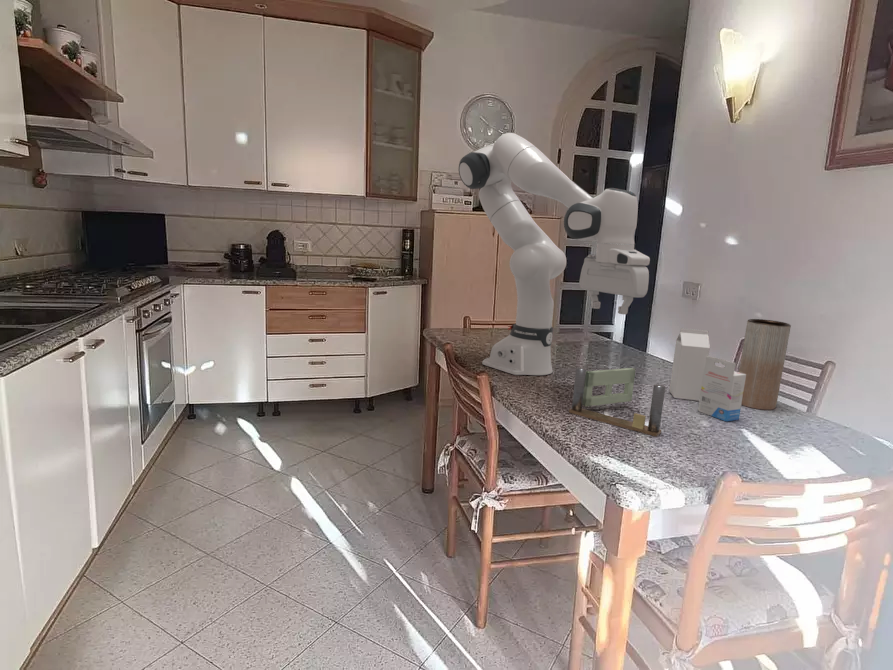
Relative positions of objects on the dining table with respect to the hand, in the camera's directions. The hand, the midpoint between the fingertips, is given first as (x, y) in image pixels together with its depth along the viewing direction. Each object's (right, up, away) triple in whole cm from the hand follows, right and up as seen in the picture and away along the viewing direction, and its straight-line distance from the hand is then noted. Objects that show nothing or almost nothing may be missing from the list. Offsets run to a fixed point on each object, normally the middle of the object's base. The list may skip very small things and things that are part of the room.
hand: (608, 311), depth 137 cm
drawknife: (-2, -26, -10) cm, 28 cm away
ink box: (+27, -26, -1) cm, 38 cm away
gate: (-1, -23, -1) cm, 23 cm away
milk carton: (+26, -23, +15) cm, 38 cm away
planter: (+43, -25, +11) cm, 51 cm away
